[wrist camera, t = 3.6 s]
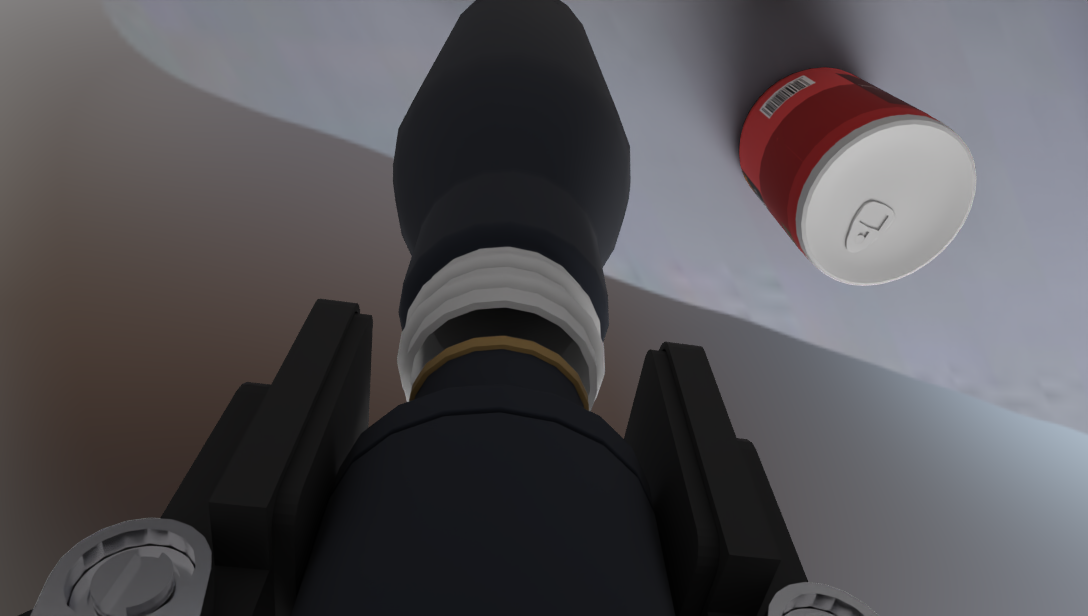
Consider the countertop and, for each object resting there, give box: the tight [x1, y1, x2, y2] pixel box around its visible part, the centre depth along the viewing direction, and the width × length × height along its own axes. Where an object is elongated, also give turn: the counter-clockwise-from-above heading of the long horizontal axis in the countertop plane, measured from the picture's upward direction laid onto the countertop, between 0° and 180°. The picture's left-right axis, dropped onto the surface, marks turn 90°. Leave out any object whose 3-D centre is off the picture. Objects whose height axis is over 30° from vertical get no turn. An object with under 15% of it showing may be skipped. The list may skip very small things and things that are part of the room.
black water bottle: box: [291, 0, 675, 616], centre depth 19 cm, size 6×6×30 cm
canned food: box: [739, 67, 976, 286], centre depth 37 cm, size 8×8×11 cm
